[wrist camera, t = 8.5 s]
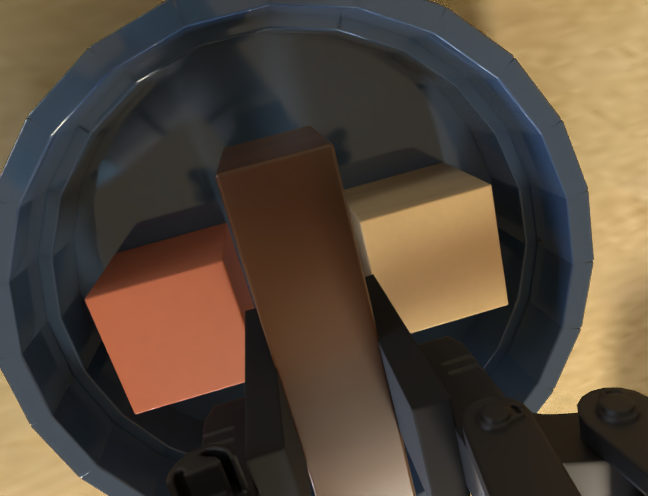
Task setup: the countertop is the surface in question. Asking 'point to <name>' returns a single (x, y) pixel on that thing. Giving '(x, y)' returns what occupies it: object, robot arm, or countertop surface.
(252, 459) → the robot arm
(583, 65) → the countertop surface
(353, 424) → the stick
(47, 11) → the countertop surface
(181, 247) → the block terracotta
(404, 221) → the block beech
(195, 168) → the bowl
